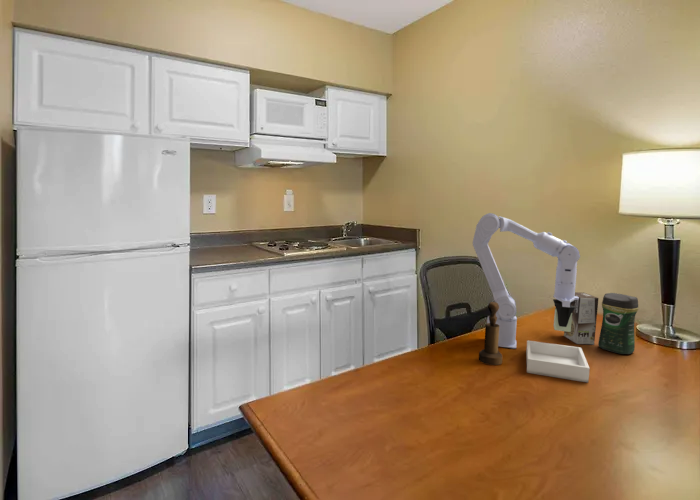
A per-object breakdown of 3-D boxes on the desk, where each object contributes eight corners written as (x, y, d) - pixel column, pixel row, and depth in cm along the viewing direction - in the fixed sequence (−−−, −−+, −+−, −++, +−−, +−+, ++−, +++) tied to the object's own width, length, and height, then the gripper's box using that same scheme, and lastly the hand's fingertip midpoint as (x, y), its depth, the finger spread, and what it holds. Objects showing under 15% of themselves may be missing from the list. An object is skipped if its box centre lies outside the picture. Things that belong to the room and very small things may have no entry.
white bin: (526, 372, 115) (527, 358, 114) (526, 352, 131) (527, 340, 130) (588, 382, 109) (589, 368, 109) (580, 360, 125) (581, 347, 124)
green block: (554, 330, 130) (556, 311, 130) (553, 326, 134) (555, 308, 134) (570, 332, 129) (572, 313, 128) (569, 328, 133) (570, 309, 132)
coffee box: (595, 344, 139) (599, 298, 137) (576, 344, 139) (580, 297, 137) (580, 336, 148) (584, 292, 146) (562, 335, 148) (566, 291, 147)
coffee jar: (638, 352, 132) (644, 296, 130) (625, 357, 128) (631, 298, 126) (606, 343, 141) (611, 290, 139) (593, 347, 137) (598, 292, 134)
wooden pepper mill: (498, 357, 126) (502, 299, 124) (504, 366, 119) (508, 305, 117) (476, 356, 126) (480, 299, 124) (481, 364, 120) (484, 304, 118)
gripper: (583, 287, 122) (579, 332, 123) (576, 279, 135) (573, 319, 137) (556, 285, 124) (552, 329, 126) (552, 277, 138) (549, 317, 139)
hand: (561, 324), depth 131 cm, fingers closed on green block, 4 cm apart
